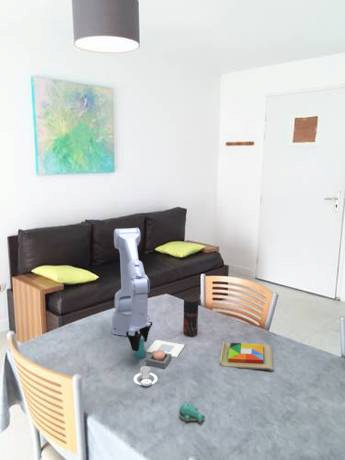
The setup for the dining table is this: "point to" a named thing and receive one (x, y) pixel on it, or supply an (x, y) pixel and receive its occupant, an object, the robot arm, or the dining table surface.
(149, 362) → the housing
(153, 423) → the dining table surface
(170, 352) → the pad
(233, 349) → the wooden puzzle
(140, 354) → the marker
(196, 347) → the dining table surface
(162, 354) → the button
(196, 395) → the dining table surface
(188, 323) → the deodorant
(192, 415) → the whale figurine
